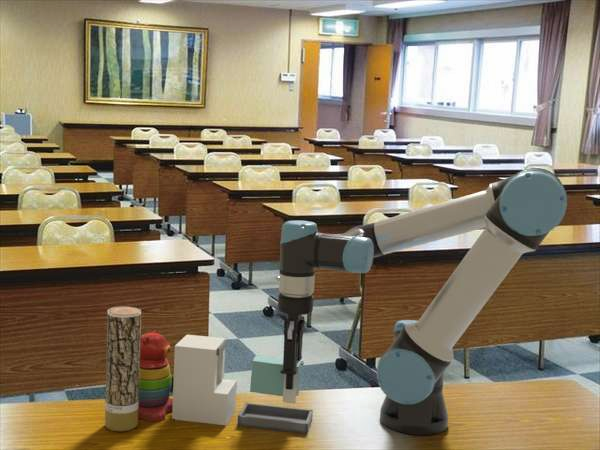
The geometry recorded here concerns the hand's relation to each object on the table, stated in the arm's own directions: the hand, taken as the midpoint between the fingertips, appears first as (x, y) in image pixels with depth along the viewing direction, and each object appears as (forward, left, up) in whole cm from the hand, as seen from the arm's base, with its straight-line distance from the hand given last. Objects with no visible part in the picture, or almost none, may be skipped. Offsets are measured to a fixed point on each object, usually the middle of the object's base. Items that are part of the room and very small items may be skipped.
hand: (290, 398), depth 168 cm
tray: (+3, 0, -6) cm, 7 cm away
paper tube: (+34, +11, -6) cm, 36 cm away
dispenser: (+19, 0, -6) cm, 20 cm away
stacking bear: (+31, +1, -6) cm, 32 cm away
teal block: (+4, 0, +1) cm, 4 cm away
